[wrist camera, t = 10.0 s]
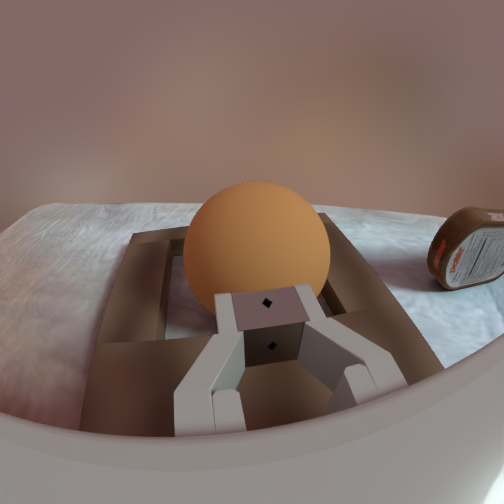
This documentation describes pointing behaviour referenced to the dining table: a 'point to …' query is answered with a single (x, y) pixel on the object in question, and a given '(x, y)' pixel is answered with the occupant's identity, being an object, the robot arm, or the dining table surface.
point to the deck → (188, 349)
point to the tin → (468, 248)
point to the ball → (255, 243)
